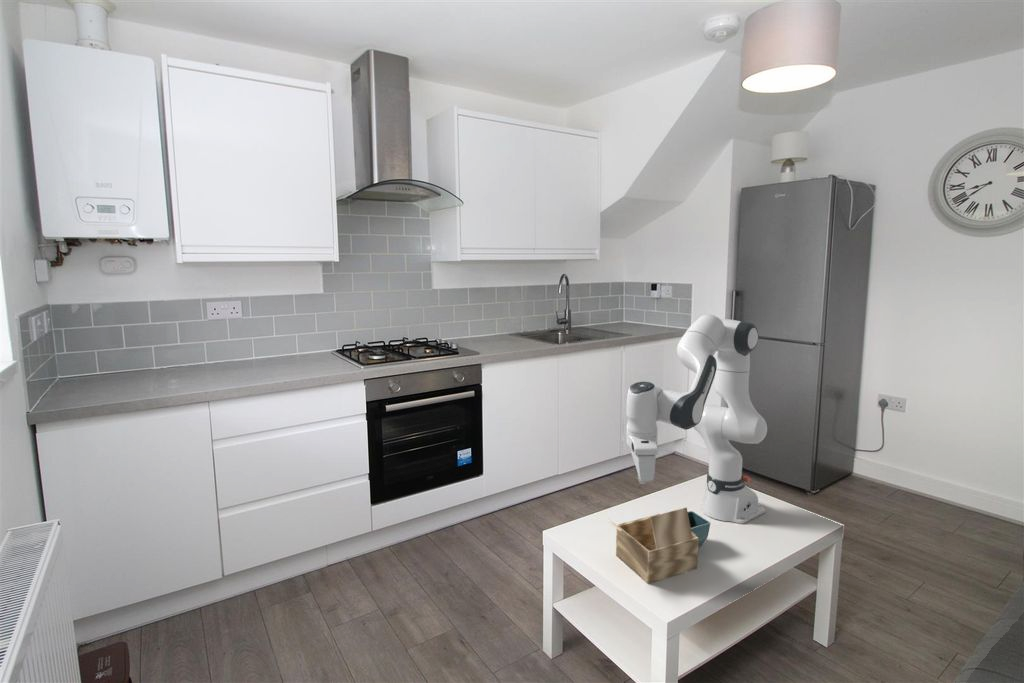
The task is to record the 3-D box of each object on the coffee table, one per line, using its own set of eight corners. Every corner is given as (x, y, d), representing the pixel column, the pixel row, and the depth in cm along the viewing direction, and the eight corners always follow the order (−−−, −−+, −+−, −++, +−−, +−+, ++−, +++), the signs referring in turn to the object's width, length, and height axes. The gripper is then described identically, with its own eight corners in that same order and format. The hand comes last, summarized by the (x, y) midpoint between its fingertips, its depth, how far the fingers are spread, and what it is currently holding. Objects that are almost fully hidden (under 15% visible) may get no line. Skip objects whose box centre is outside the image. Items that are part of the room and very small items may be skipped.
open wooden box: (662, 540, 175) (663, 512, 173) (698, 567, 160) (700, 537, 158) (614, 554, 168) (615, 525, 166) (648, 584, 153) (649, 552, 151)
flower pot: (688, 555, 167) (689, 528, 165) (669, 541, 175) (670, 516, 173) (710, 548, 170) (711, 522, 169) (690, 535, 178) (691, 510, 177)
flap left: (685, 507, 158) (686, 507, 158) (691, 538, 157) (692, 538, 157) (650, 516, 153) (651, 516, 153) (656, 549, 152) (657, 549, 152)
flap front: (605, 517, 158) (604, 518, 158) (621, 530, 151) (620, 531, 151) (624, 531, 162) (623, 532, 162) (640, 544, 155) (639, 545, 155)
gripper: (626, 425, 165) (626, 466, 168) (635, 451, 145) (635, 498, 148) (646, 425, 165) (646, 466, 168) (659, 451, 145) (658, 498, 148)
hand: (641, 481), depth 158 cm, fingers closed
